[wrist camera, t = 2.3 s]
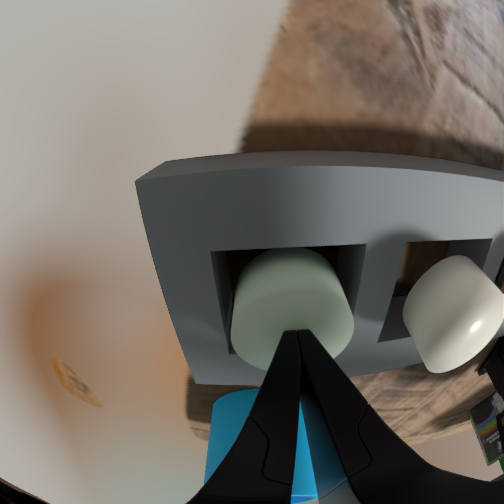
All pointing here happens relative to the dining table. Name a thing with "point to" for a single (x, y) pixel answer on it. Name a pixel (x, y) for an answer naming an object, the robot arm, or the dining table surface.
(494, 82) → the dining table surface
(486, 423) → the chalk box
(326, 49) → the dining table surface
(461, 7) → the dining table surface
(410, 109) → the dining table surface
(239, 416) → the mug
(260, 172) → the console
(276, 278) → the sage button
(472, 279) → the cream button
